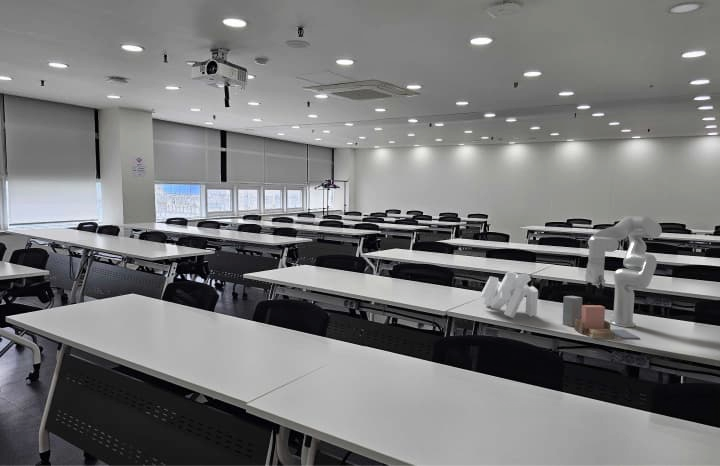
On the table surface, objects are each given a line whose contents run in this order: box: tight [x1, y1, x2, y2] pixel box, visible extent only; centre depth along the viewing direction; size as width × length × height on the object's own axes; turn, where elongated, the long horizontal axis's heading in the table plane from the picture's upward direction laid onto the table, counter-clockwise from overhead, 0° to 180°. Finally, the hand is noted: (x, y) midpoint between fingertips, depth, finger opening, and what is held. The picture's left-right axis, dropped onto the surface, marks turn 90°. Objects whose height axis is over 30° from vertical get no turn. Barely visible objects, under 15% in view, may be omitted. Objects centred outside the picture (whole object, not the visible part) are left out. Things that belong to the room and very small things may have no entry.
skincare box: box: [562, 295, 583, 327], centre depth 249 cm, size 8×7×16 cm
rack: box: [574, 319, 612, 335], centre depth 236 cm, size 7×15×6 cm, turn 91°
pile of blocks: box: [481, 271, 539, 319], centre depth 269 cm, size 35×30×35 cm
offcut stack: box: [587, 329, 614, 339], centre depth 228 cm, size 4×11×4 cm, turn 91°
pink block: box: [581, 304, 606, 329], centre depth 235 cm, size 4×10×14 cm, turn 91°
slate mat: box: [610, 328, 641, 340], centre depth 232 cm, size 14×9×1 cm, turn 1°
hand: (593, 293), depth 234 cm, fingers open, 9 cm apart
